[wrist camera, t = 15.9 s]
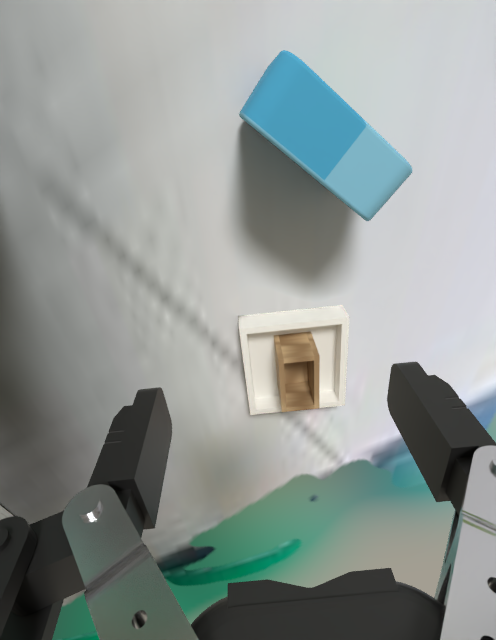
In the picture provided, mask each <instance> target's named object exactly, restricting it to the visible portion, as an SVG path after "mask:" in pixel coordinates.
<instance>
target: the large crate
mask: <svg viewBox="0 0 496 640" xmlns="http://www.w3.org/2000/svg"><path fill="white" fill-rule="evenodd" d="M302 332H311V333H312V336H313V339H314V342H315V344H316V347H317V350H318V353H319V355H320V373H319V408H323V407H333V406H343V405H345V390H346V371H347V352H348V333H349V316H348V314H347V312H346V311H345V309H344V307H343V305H337V306H327V307H318V308H308V309H299V310H290V311H280V312H271V313H262V314H252V315H243V316H239V333H240V340H241V348H242V355H243V363H244V370H245V378H246V385H247V393H248V401H249V408H250V415H255V414H265V413H274V412H282V410H281V404H280V398H279V392H278V386H277V373H276V360H275V346H274V335H283V334H292V333H302Z"/></svg>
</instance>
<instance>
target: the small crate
mask: <svg viewBox="0 0 496 640" xmlns="http://www.w3.org/2000/svg"><path fill="white" fill-rule="evenodd" d="M274 346H275V360H276V373H277V386H278V392H279V398H280V404H281V410H282V412H287V411H297V410H307V409H317V408H319V373H320V355H319V353H318V350H317V347H316V344H315V342H314V339H313V336H312V333H311V332H302V333H292V334H283V335H274Z"/></svg>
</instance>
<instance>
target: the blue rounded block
mask: <svg viewBox="0 0 496 640" xmlns="http://www.w3.org/2000/svg"><path fill="white" fill-rule="evenodd" d="M239 115H240V117H241V118H242V119H243V120H244V121H246V122H247V123H248V124H249V125H250V126H252V127H253V128H254V129H255V130H256V131H258V132H259V133H260V134H261V135H262V136H264V137H265V138H266V139H267V140H269V141H270V142H271V143H272V144H273V145H275V146H276V147H277V148H278V149H279V150H281V151H282V152H283V153H284V154H285V155H287V156H288V157H289V158H290V159H292V160H293V161H294V162H295V163H296V164H298V165H299V166H300V167H301V168H302V169H304V170H305V171H306V172H307V173H308V174H310V175H311V176H312V177H313V178H315V179H316V180H317V181H318V182H319V183H321V184H322V185H323V186H324V187H325V188H327V189H328V190H329V191H330V192H331V193H333V194H334V195H335V196H336V197H338V198H339V199H340V200H341V201H342V202H344V203H345V204H346V205H347V206H349V207H350V208H351V209H352V210H353V211H355V212H356V213H357V214H358V215H360V216H361V217H362V218H363V219H364V220H366V221H369V220H371V219H372V218H373V216H374V215H375V214H376V213H377V212H378V211H379V210H380V208H381V207H382V206H383V205H384V204H385V203H386V202H387V200H388V199H389V198H390V197H391V196H392V195H393V194H394V193H395V191H396V190H397V189H398V188H399V187H400V186H401V185H402V183H403V182H404V181H405V180H406V179H407V178H408V177H409V175H410V174H411V173H412V167H411V165H410V164H409V163H408V162H407V161H406V159H405V158H403V157H402V156H401V155H400V154H399V153H398V152H397V151H396V150H395V149H394V148H393V147H392V146H391V145H390V144H389V143H388V142H387V141H386V140H385V139H384V138H383V137H382V136H380V135H379V134H378V133H377V132H376V131H375V130H374V129H373V128H372V127H371V126H370V125H369V124H368V123H367V122H366V121H365V120H364V119H363V118H362V117H361V116H360V115H358V114H357V113H356V112H355V111H354V110H353V109H352V108H351V107H350V106H349V105H348V104H347V103H346V102H345V101H344V100H343V99H342V98H341V97H340V96H339V95H338V94H337V93H335V92H334V91H333V90H332V89H331V88H330V87H329V86H328V85H327V84H326V83H325V82H324V81H323V80H322V79H321V78H320V77H319V76H318V75H317V74H316V73H315V72H313V71H312V70H311V69H310V68H309V67H308V66H307V65H306V64H305V63H304V62H303V61H302V60H300V59H299V58H298V57H297V56H295V55H294V54H292V53H290V52H288V51H285V50H284V51H281V52H280V53H279V54H278V56H277V57H276V58H275V59H274V60H273V62H272V63H271V64H270V65H269V66H268V68H267V69H266V71H265V73H264V74H263V76H262V77H261V79H260V81H259V82H258V84H257V85H256V87H255V89H254V90H253V92H252V94H251V95H250V97H249V98H248V100H247V102H246V103H245V105H244V107H243V108H242V110H241V111H240V114H239Z"/></svg>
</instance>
